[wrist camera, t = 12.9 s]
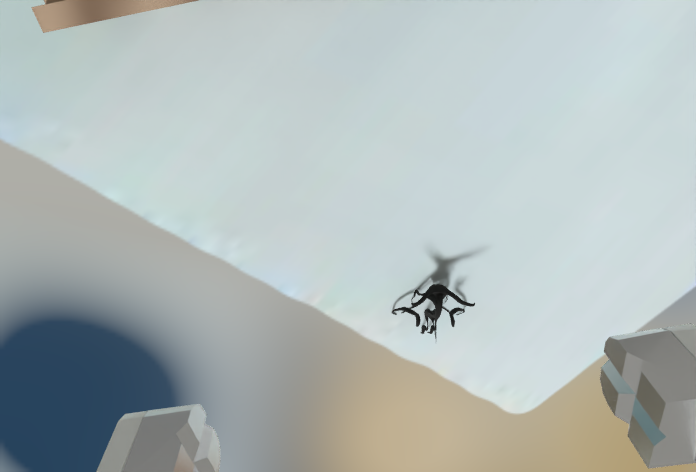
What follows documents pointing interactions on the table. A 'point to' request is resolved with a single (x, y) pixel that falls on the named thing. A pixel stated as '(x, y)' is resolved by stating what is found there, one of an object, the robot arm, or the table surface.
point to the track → (92, 11)
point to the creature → (436, 296)
